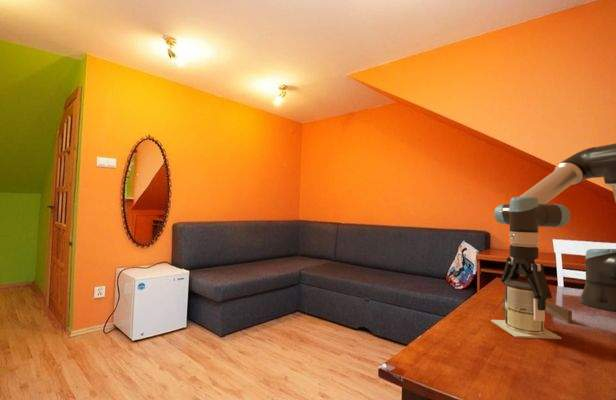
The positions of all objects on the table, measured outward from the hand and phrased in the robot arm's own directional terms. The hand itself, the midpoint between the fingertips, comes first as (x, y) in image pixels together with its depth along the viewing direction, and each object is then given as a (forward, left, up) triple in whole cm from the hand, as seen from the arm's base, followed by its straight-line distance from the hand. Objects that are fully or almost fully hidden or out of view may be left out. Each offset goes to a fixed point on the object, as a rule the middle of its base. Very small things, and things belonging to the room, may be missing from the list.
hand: (523, 312), depth 96 cm
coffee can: (0, 0, -5) cm, 5 cm away
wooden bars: (-13, -14, -5) cm, 20 cm away
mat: (0, 0, -5) cm, 5 cm away
